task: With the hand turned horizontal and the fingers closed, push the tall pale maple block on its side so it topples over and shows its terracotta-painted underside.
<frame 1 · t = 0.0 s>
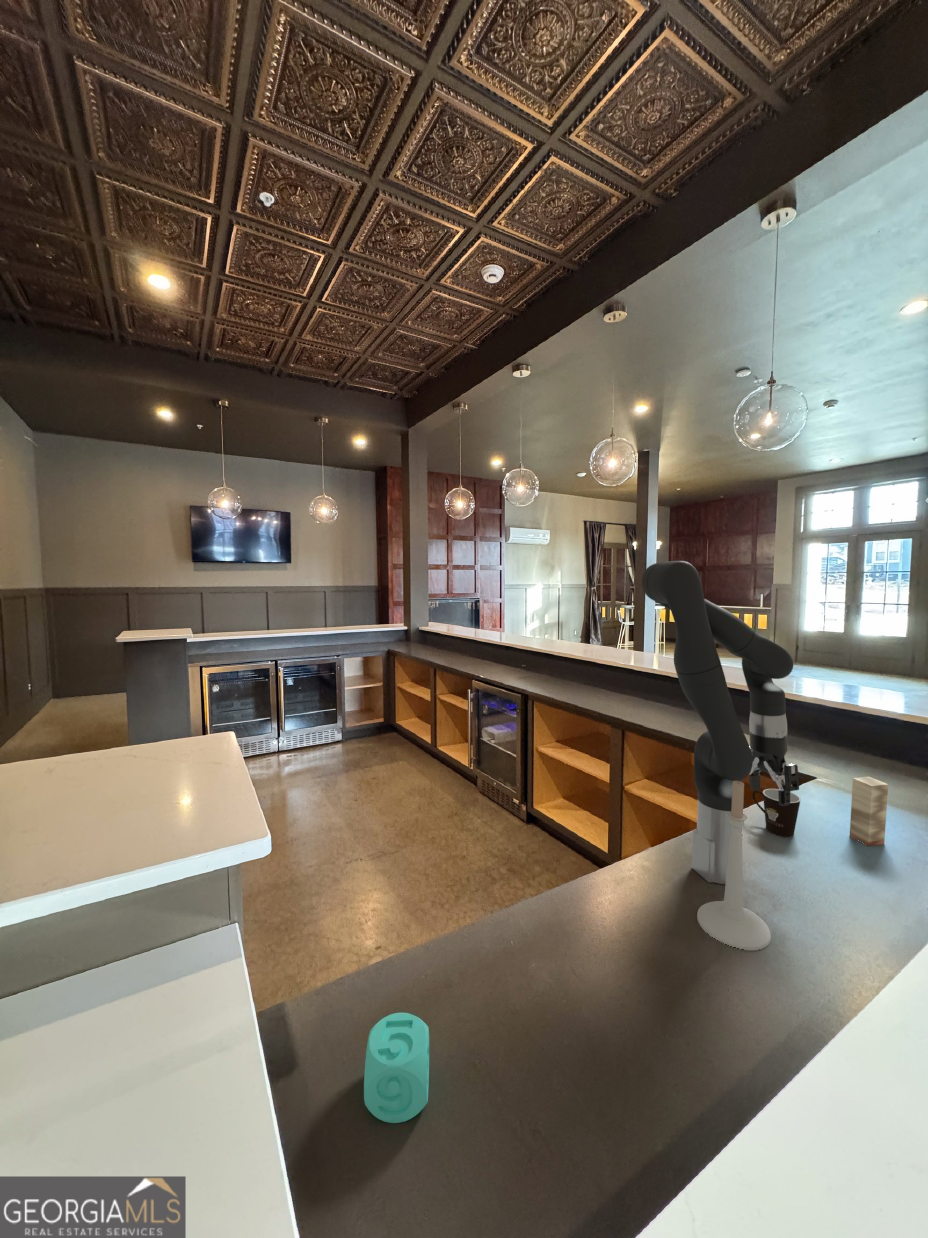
hand: (769, 797, 115), 17 cm above the countertop, tool pointing down, fingers open, 8 cm apart
decorative dice: (399, 1093, 66), on the countertop
candlestick: (732, 927, 97), on the countertop
maple block: (866, 840, 128), on the countertop
coffee mug: (776, 828, 134), on the countertop
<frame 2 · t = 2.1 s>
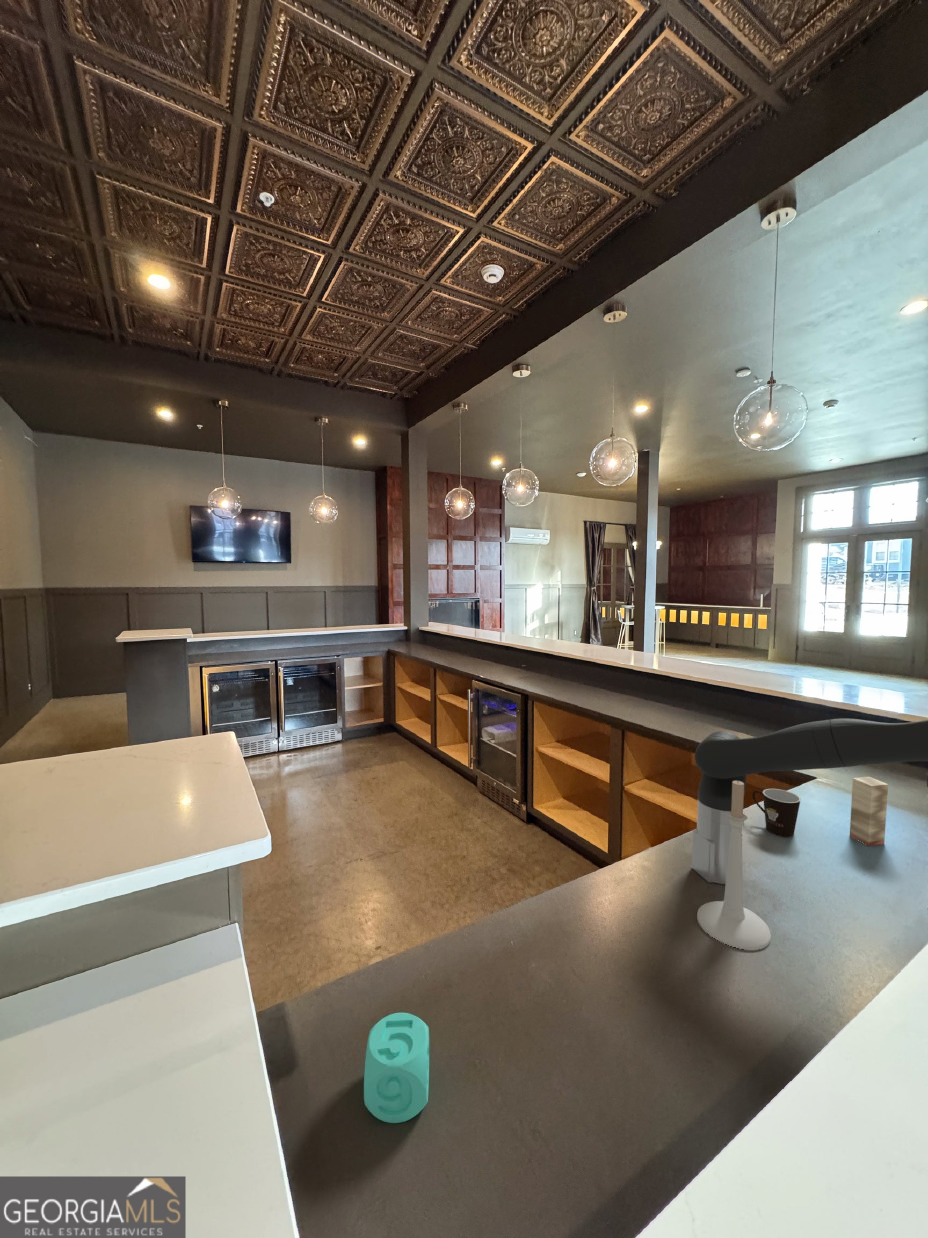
nothing on the countertop moved.
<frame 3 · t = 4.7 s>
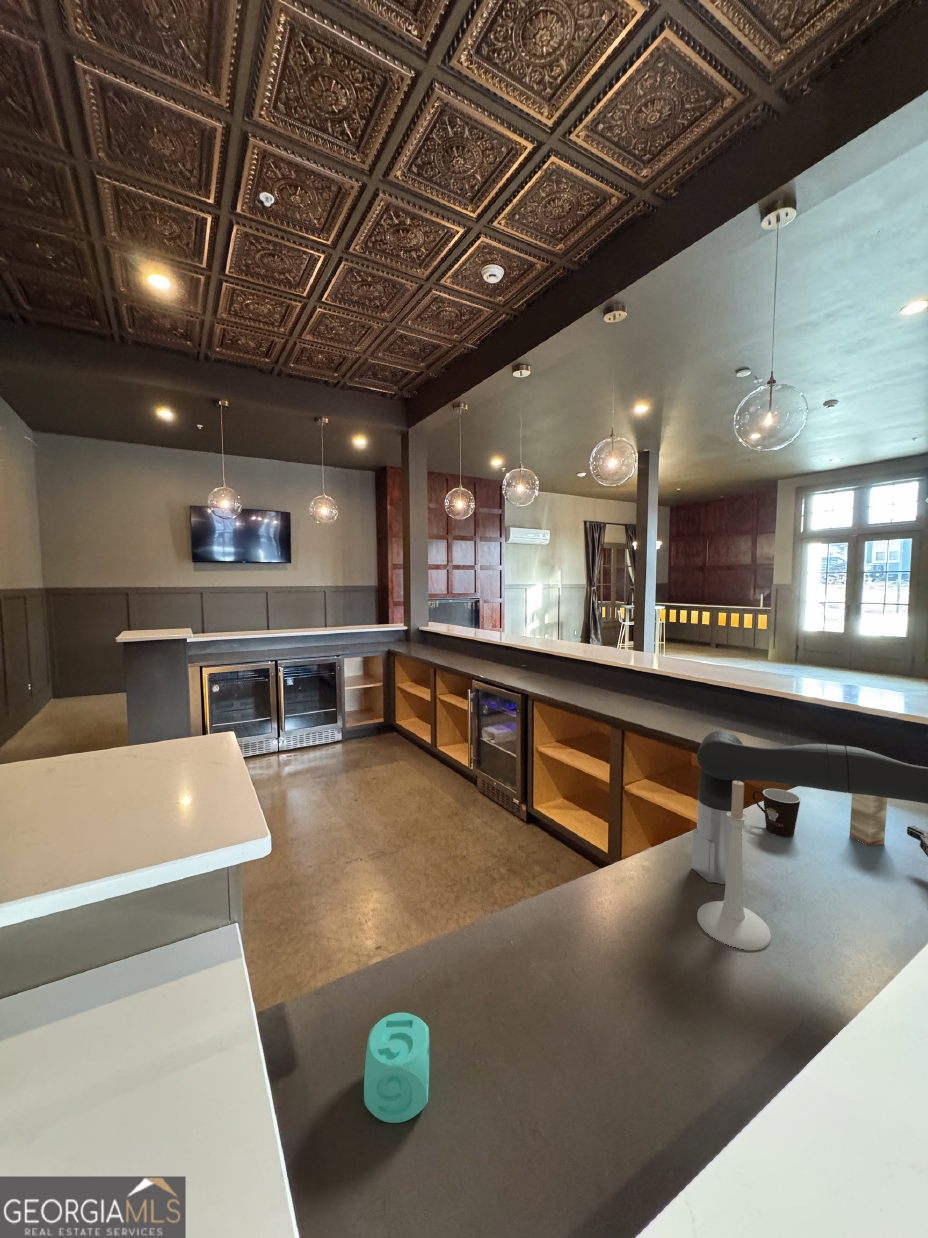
hand: (909, 830, 117), 8 cm above the countertop, tool horizontal, fingers closed
nothing on the countertop moved.
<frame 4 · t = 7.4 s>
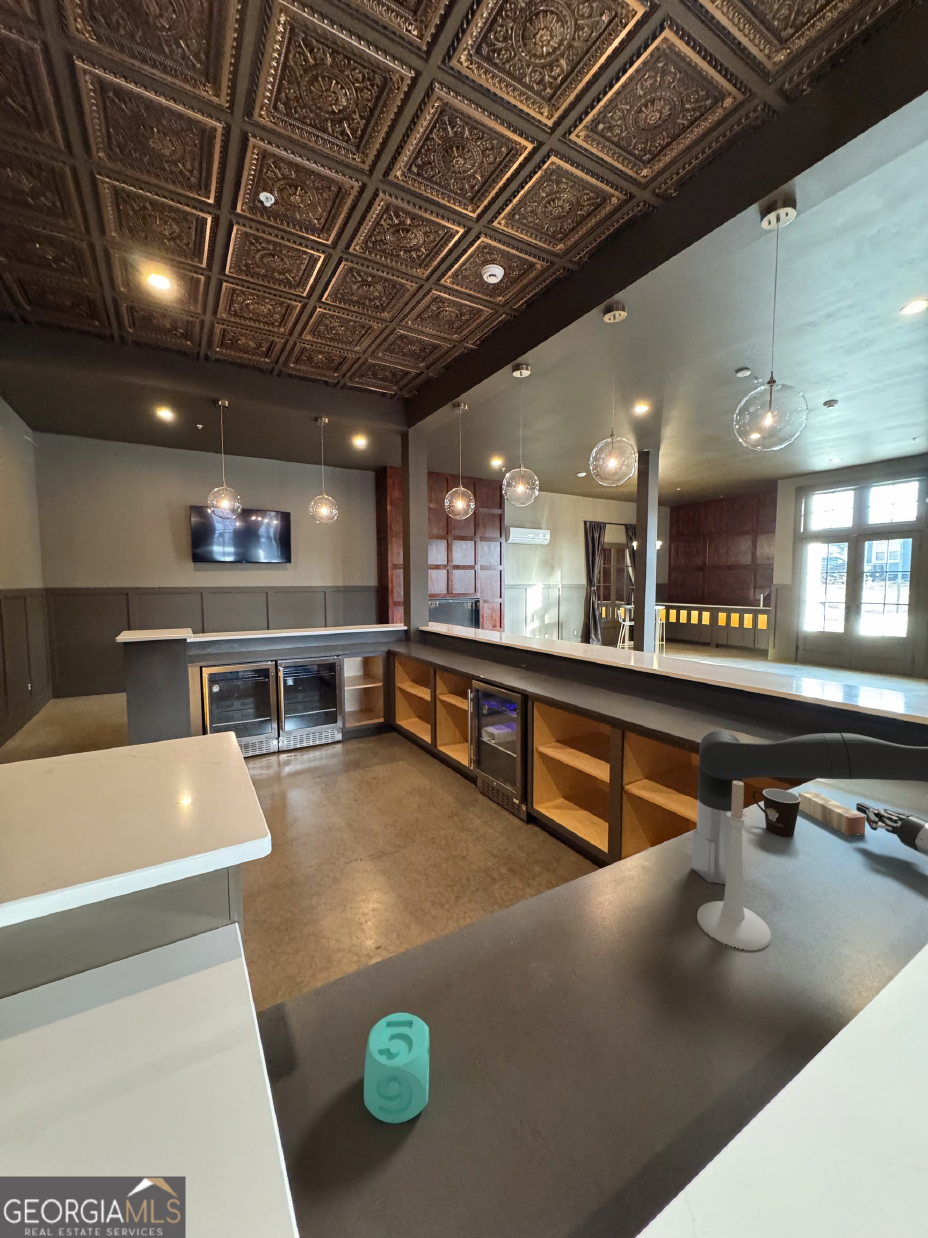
hand: (858, 806, 130), 8 cm above the countertop, tool horizontal, fingers closed
maple block: (857, 826, 130), point 2 cm above the countertop, tilted 90°
everything else where it was.
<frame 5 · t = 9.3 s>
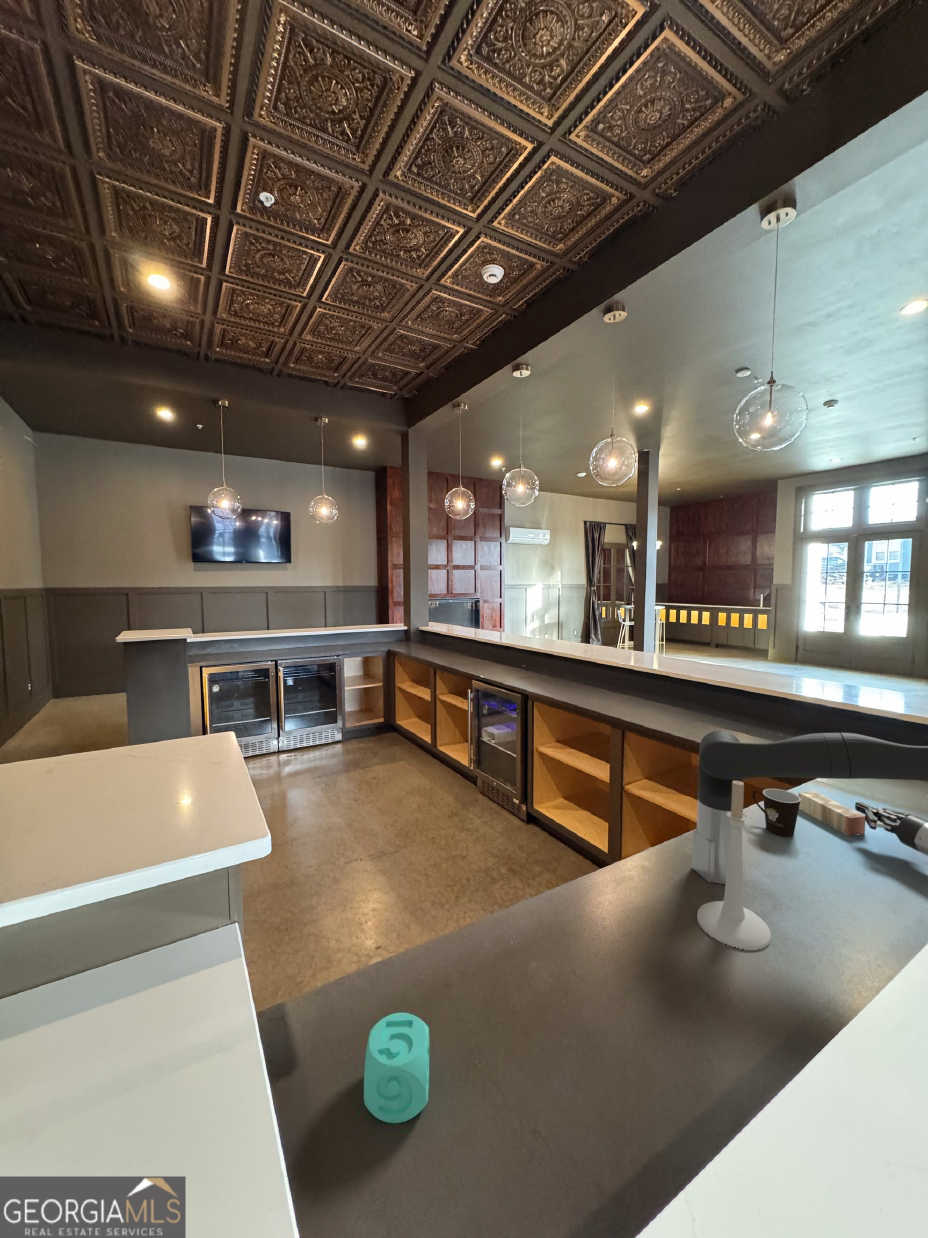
hand: (857, 805, 130), 8 cm above the countertop, tool horizontal, fingers closed
nothing on the countertop moved.
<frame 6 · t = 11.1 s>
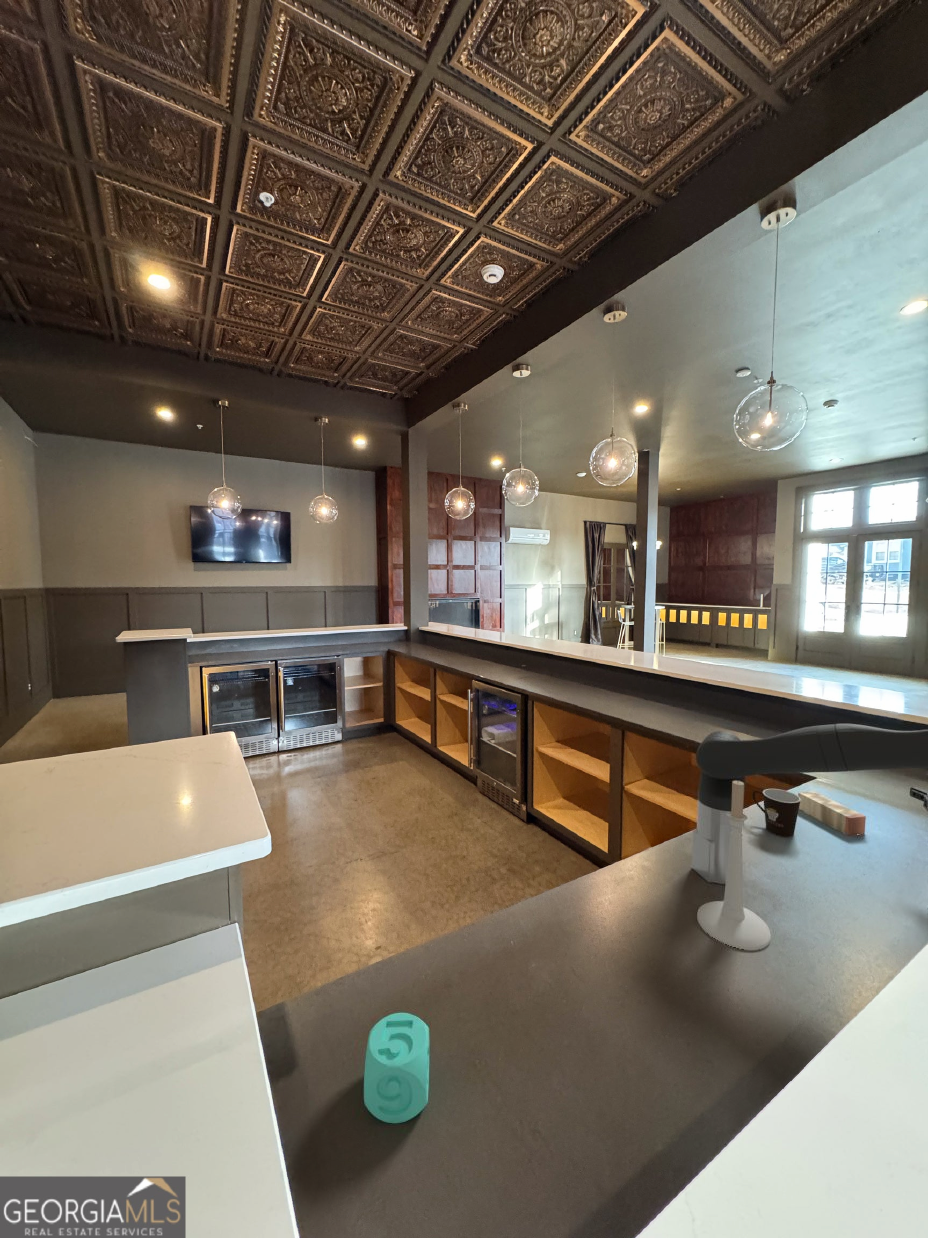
hand: (912, 791, 114), 19 cm above the countertop, tool horizontal, fingers closed
nothing on the countertop moved.
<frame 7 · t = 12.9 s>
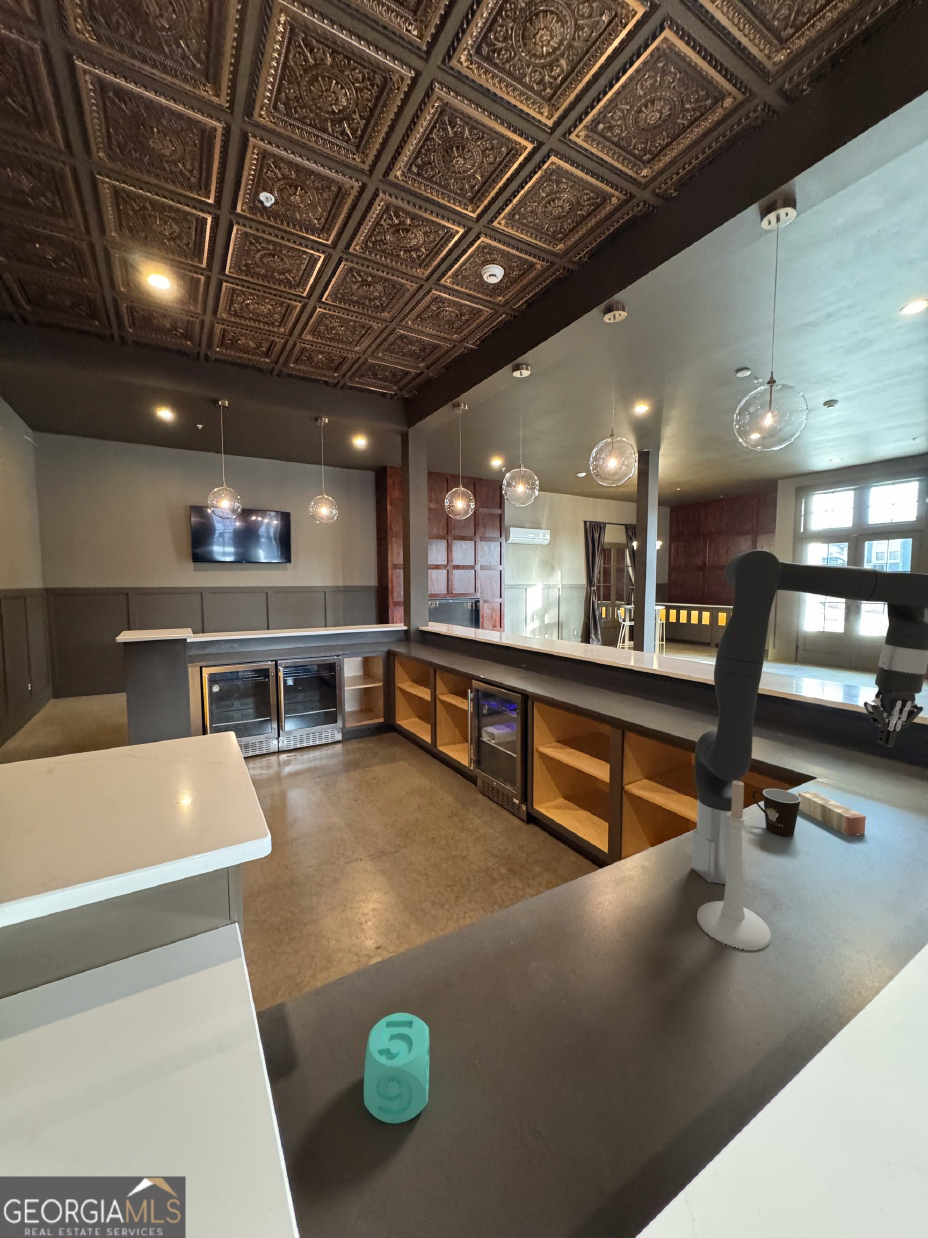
hand: (885, 745, 106), 33 cm above the countertop, tool pointing down, fingers closed
nothing on the countertop moved.
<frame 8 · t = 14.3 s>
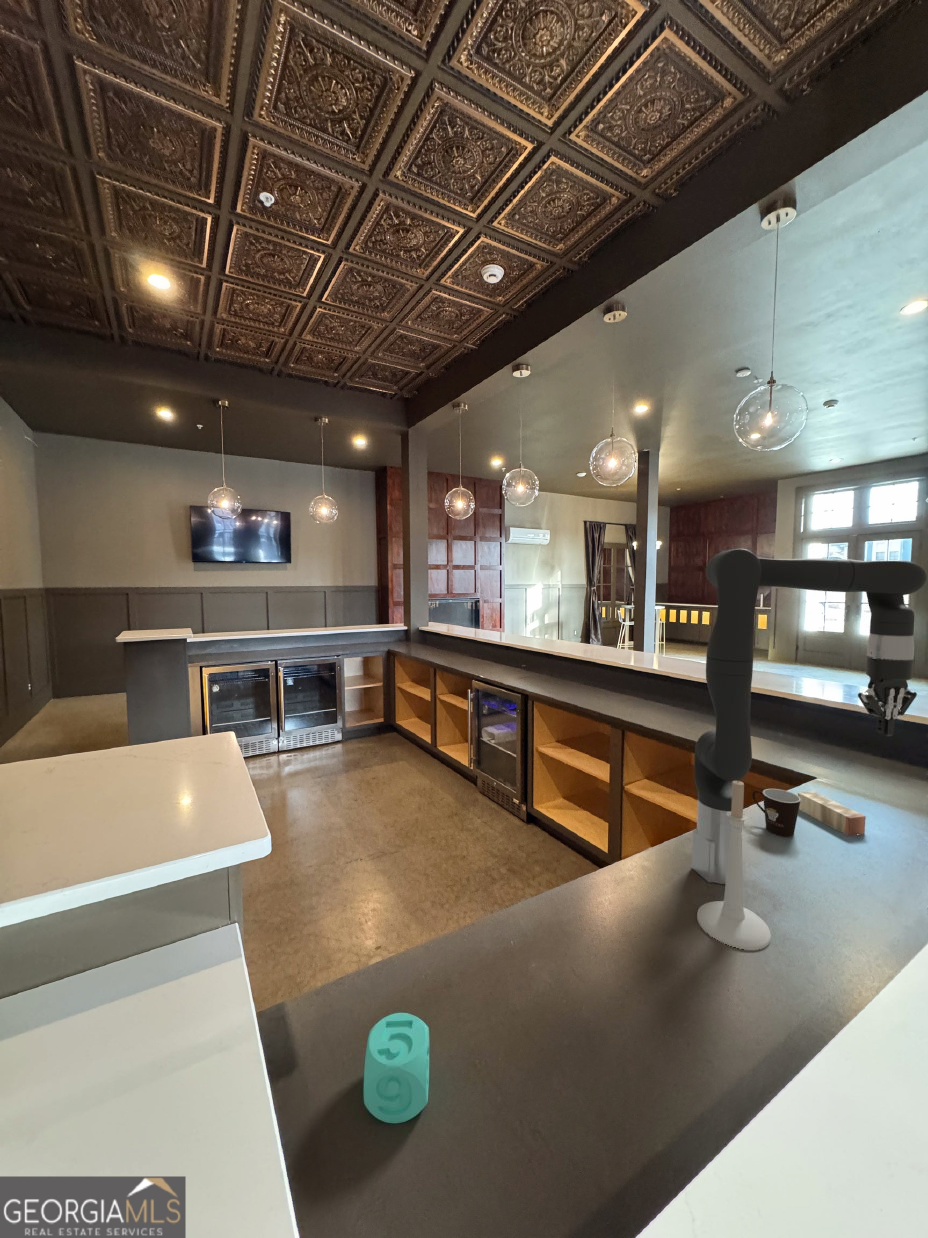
hand: (884, 734, 105), 35 cm above the countertop, tool pointing down, fingers closed
nothing on the countertop moved.
at the end: maple block tilted 90°; maple block inside the target area (0.8 cm from its centre), point 2.4 cm above the countertop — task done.
